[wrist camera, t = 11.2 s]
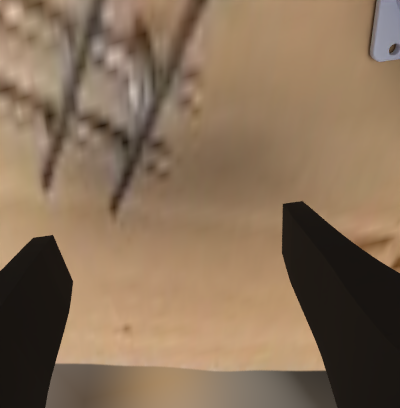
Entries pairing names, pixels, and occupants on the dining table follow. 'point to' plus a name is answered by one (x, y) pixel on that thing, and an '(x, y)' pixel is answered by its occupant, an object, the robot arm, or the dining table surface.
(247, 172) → the dining table surface
